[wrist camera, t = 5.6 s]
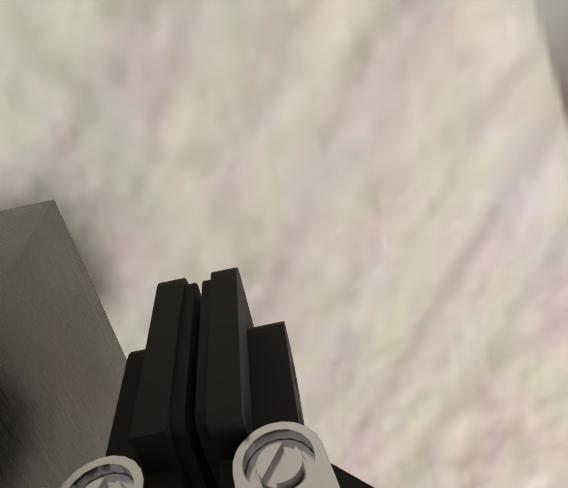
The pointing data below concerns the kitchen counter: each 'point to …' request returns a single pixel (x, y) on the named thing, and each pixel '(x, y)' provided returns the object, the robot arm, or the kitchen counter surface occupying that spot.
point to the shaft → (51, 354)
